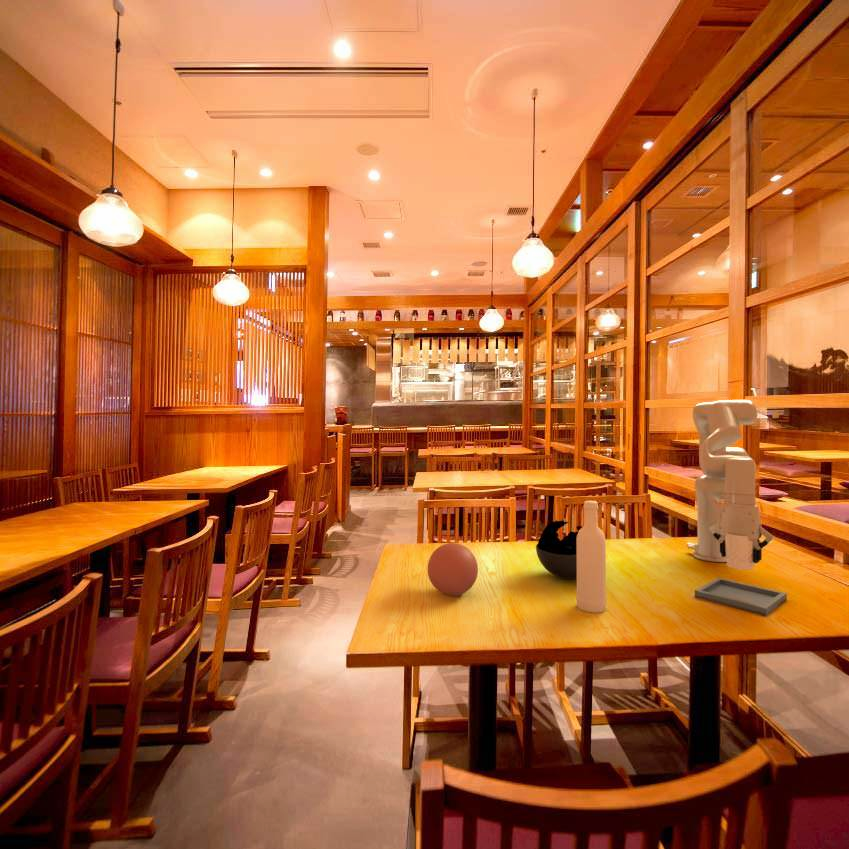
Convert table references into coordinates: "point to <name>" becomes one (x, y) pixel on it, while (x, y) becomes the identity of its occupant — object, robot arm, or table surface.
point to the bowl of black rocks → (558, 551)
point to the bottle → (591, 562)
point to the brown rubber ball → (452, 569)
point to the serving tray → (741, 596)
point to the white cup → (739, 552)
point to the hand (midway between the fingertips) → (740, 558)
